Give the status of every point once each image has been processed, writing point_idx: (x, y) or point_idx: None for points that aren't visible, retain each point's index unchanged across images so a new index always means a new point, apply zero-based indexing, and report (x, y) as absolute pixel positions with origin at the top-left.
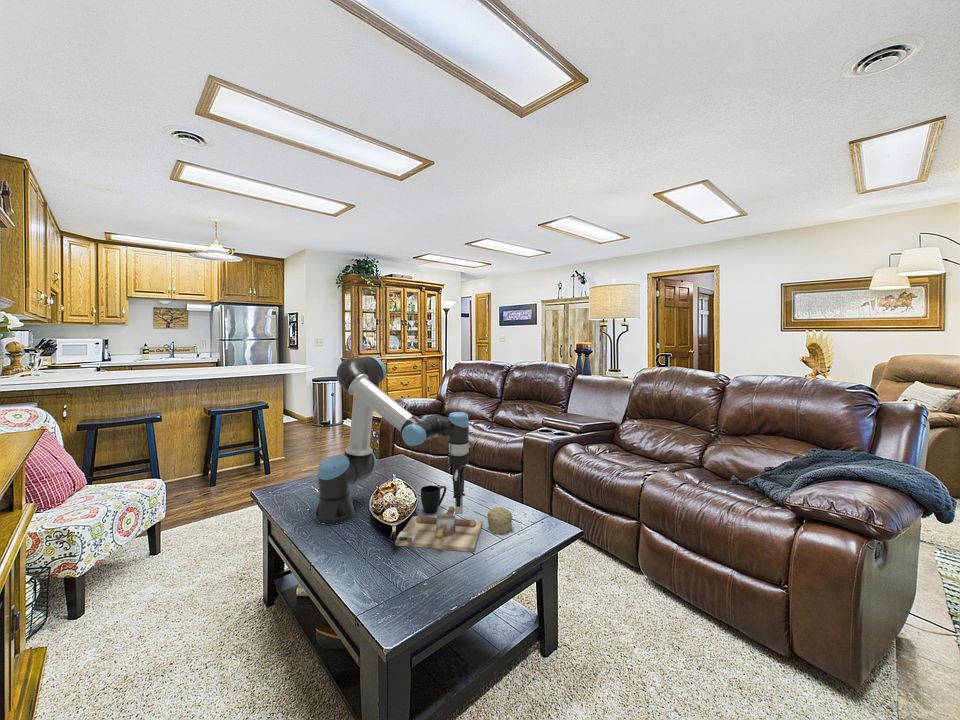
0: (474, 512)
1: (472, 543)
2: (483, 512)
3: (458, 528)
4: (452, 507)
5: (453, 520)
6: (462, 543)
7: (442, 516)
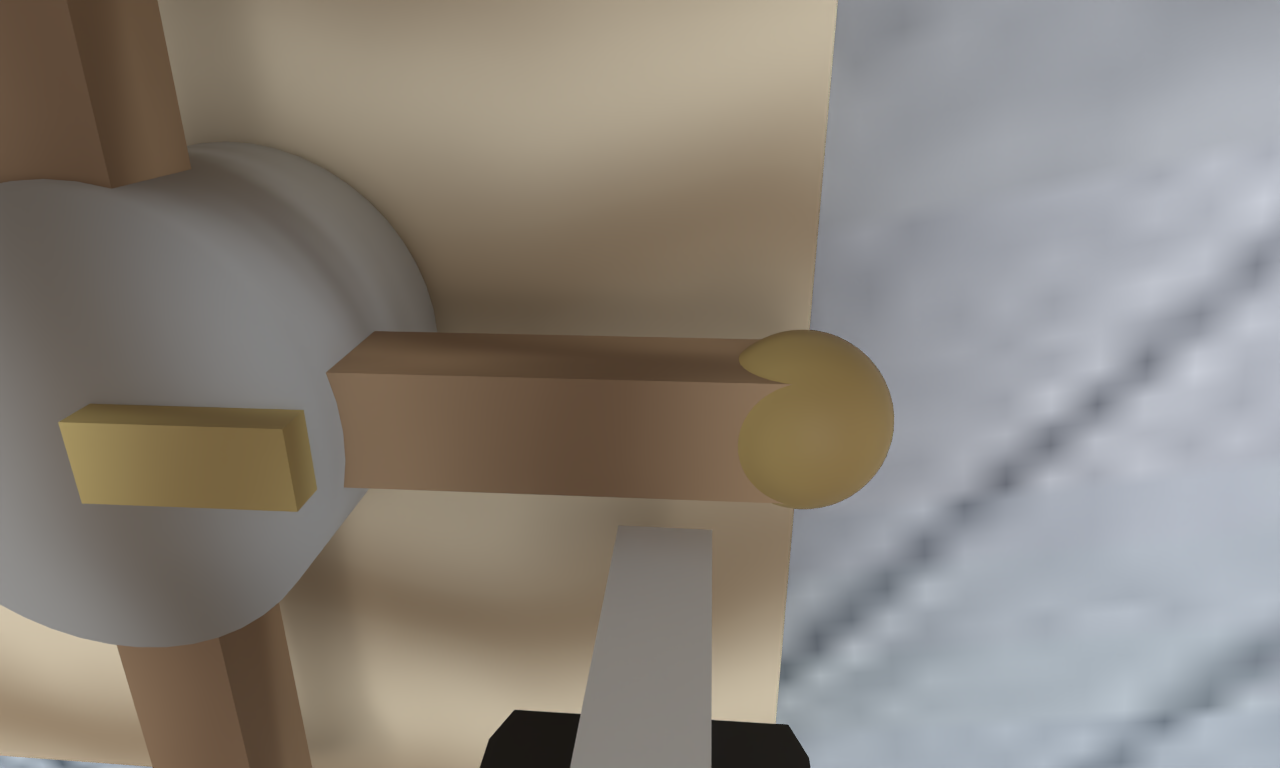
0: (1251, 632)
1: (83, 734)
2: (1235, 757)
3: (448, 510)
4: (789, 484)
5: (45, 620)
6: (27, 620)
7: (116, 341)
